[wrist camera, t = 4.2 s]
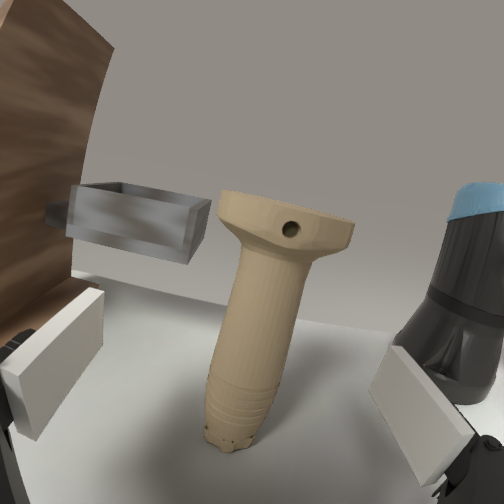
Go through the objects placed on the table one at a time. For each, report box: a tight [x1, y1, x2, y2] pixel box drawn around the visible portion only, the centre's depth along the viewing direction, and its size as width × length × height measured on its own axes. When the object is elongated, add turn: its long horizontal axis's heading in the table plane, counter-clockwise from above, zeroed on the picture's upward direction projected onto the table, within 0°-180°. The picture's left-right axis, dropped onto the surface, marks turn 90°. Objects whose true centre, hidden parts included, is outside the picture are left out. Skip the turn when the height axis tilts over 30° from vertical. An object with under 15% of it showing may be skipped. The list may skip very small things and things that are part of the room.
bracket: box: [0, 0, 212, 348], centre depth 22 cm, size 16×18×28 cm
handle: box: [204, 190, 355, 453], centre depth 16 cm, size 5×6×15 cm
